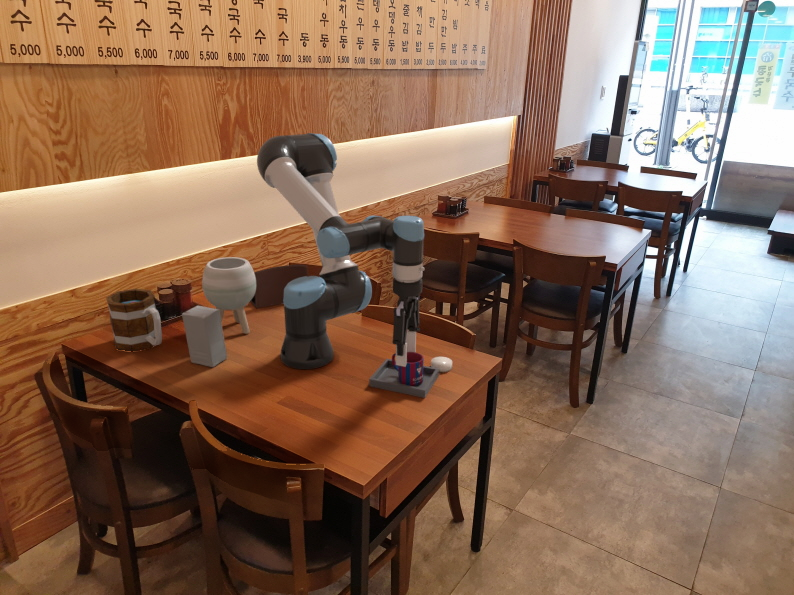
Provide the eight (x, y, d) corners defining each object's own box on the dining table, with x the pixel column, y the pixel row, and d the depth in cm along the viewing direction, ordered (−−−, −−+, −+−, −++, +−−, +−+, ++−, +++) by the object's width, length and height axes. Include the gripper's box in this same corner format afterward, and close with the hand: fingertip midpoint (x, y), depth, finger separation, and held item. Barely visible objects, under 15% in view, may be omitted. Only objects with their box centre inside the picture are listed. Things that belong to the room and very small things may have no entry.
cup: (409, 388, 153) (409, 365, 150) (385, 375, 160) (385, 352, 157) (428, 380, 157) (428, 357, 154) (404, 367, 164) (403, 345, 161)
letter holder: (309, 299, 212) (307, 263, 207) (255, 309, 203) (252, 271, 198) (299, 291, 220) (297, 255, 215) (247, 299, 211) (244, 262, 206)
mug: (104, 344, 175) (95, 298, 170) (145, 329, 185) (138, 285, 180) (141, 363, 165) (134, 314, 159) (183, 346, 175) (177, 300, 169)
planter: (242, 315, 197) (236, 252, 189) (269, 329, 187) (264, 263, 179) (198, 328, 186) (190, 262, 178) (224, 345, 176) (217, 275, 168)
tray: (369, 386, 155) (369, 379, 154) (386, 365, 166) (386, 358, 165) (424, 398, 150) (425, 390, 149) (438, 375, 161) (439, 368, 160)
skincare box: (227, 359, 168) (222, 308, 162) (210, 369, 162) (204, 317, 156) (205, 353, 171) (199, 303, 165) (187, 363, 165) (180, 311, 159)
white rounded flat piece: (428, 370, 164) (428, 364, 164) (434, 361, 170) (434, 355, 169) (448, 374, 162) (449, 368, 162) (454, 365, 168) (454, 358, 167)
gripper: (408, 292, 137) (406, 378, 146) (433, 268, 155) (430, 346, 163) (379, 288, 140) (379, 373, 148) (406, 265, 157) (405, 342, 165)
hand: (405, 359), depth 155 cm, fingers open, 7 cm apart
